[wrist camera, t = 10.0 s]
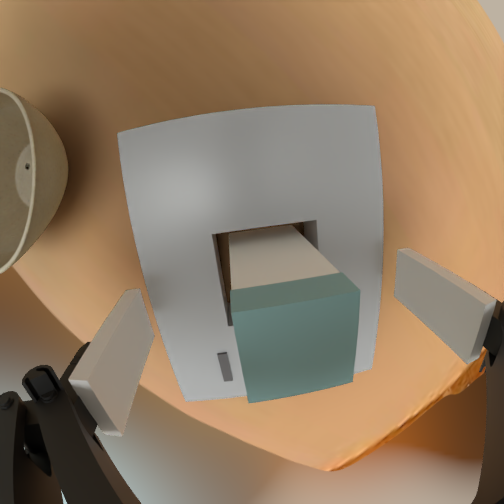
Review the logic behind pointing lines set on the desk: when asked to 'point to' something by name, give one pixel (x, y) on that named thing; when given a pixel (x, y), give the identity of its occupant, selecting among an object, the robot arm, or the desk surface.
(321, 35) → the desk surface
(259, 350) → the block
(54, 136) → the flower pot
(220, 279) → the outlet plate
